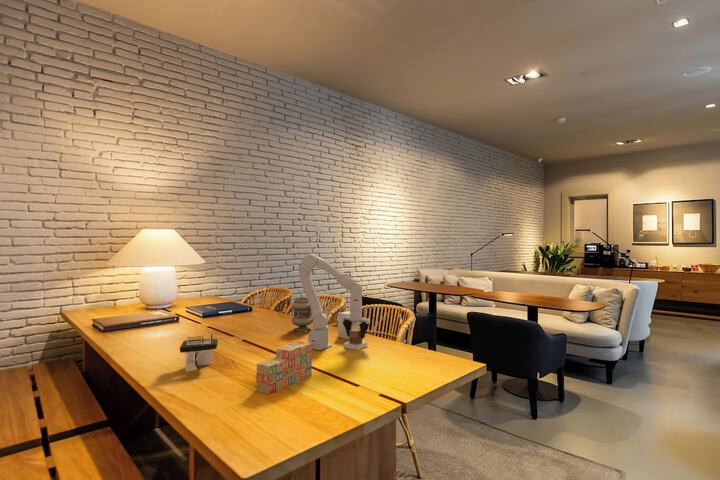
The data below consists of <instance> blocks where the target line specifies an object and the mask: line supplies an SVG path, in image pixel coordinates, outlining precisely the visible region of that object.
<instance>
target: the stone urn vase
mask: <svg viewBox="0 0 720 480" xmlns="http://www.w3.org/2000/svg"><path fill="white" fill-rule="evenodd" d="M291 308H292V309H293V317H292V318H291V324H293V325H294V326H296V327H295V328H294V329H293V331H294V332H295V331H296V332H295V333H306V332H305V331H309V332H310V330H311V331H312V328H311V327H308V326H310V325H311V324H313V316H312V310H311V307H310V305H309V302H308V299H307V296H306V297H302V296H301V297H299V296H298V297H295V298H294V301H293V302H292V304H291Z"/></svg>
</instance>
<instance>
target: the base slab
mask: <svg viewBox="0 0 720 480" xmlns="http://www.w3.org/2000/svg"><path fill="white" fill-rule="evenodd" d="M367 347H368V341H364V340H362V343H359V344H352V343H349V341H347V342H344V343H343V348H345V349H351V350H355V351H360V350H361V349H364V348H367Z"/></svg>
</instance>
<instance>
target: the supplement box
mask: <svg viewBox="0 0 720 480" xmlns="http://www.w3.org/2000/svg"><path fill="white" fill-rule="evenodd" d="M342 316H350V310H349V311H343V312H341V311H340V312H338V316H337V320H338V321H337V322H338V324H337V326H338V327H337V328H338V329H337V337H338V338H341V339H346V340H349V336H347V332H346V329H345V327H344V325H343V322H344V320H342ZM354 328H355V329H358V322H354V321H352V326H351V329H354Z"/></svg>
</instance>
